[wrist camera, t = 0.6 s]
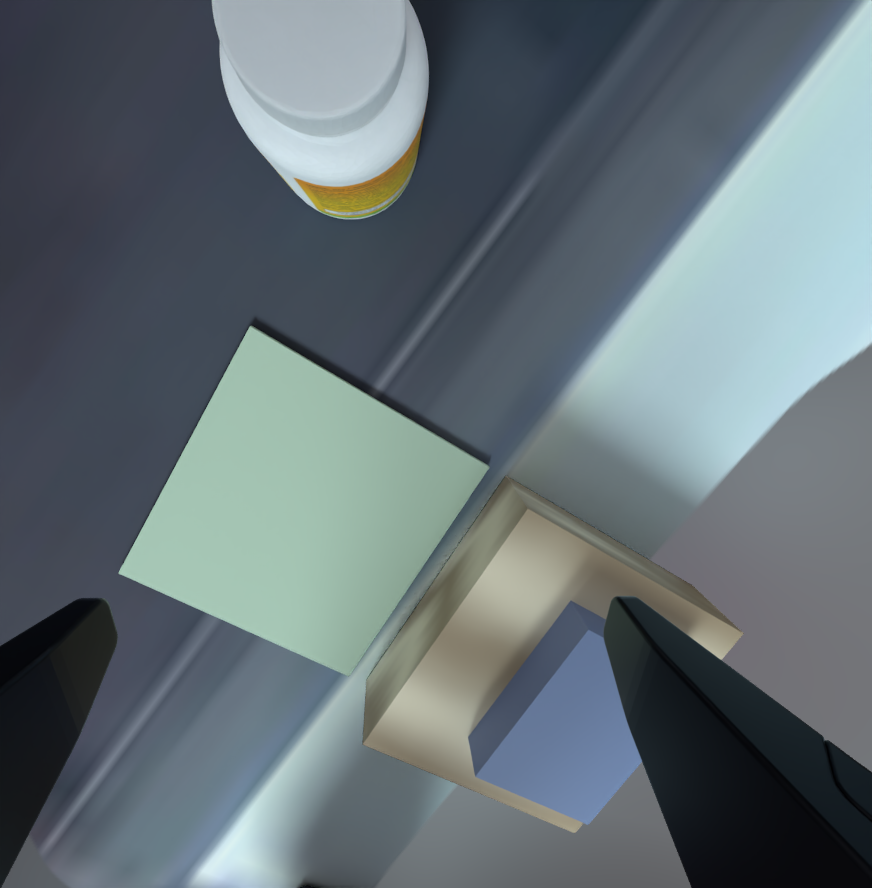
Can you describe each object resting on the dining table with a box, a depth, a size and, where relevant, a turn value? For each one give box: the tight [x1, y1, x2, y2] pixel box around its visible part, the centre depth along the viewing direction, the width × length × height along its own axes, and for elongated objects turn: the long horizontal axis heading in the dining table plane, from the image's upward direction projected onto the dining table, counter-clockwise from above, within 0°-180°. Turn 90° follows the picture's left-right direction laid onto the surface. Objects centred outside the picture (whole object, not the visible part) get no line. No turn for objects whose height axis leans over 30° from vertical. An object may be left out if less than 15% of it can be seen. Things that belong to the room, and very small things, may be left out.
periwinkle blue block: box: [468, 601, 642, 825], centre depth 22 cm, size 8×6×2 cm
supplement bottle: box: [212, 0, 429, 219], centre depth 15 cm, size 5×5×10 cm
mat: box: [119, 326, 489, 676], centre depth 24 cm, size 13×12×1 cm
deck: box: [363, 476, 744, 833], centre depth 25 cm, size 13×12×4 cm
